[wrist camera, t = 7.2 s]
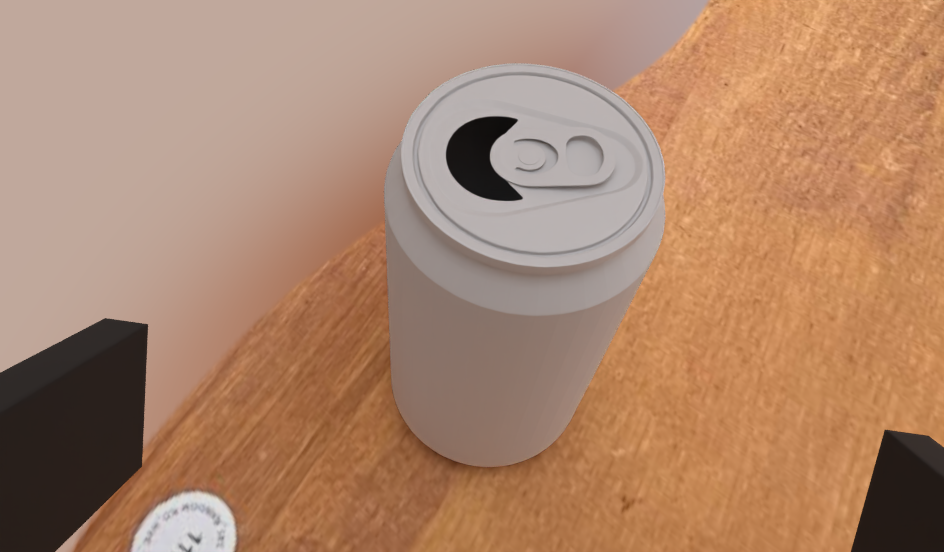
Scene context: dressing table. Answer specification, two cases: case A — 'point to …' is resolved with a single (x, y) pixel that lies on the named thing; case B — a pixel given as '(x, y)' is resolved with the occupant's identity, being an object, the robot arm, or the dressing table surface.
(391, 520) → the dressing table surface
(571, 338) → the beverage can
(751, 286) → the dressing table surface
